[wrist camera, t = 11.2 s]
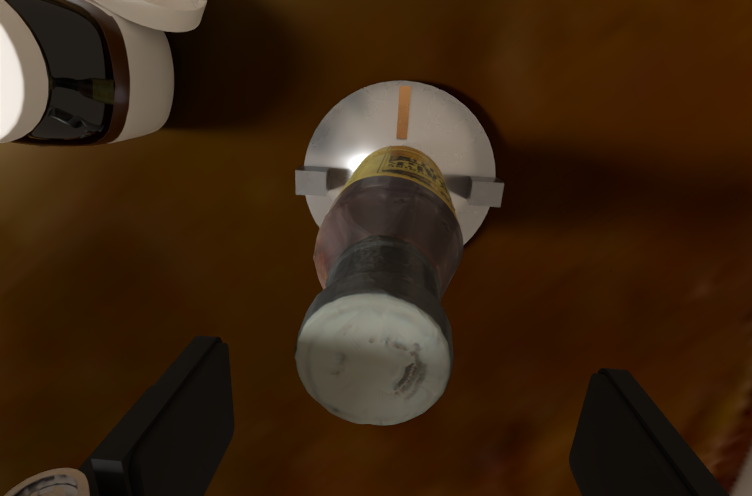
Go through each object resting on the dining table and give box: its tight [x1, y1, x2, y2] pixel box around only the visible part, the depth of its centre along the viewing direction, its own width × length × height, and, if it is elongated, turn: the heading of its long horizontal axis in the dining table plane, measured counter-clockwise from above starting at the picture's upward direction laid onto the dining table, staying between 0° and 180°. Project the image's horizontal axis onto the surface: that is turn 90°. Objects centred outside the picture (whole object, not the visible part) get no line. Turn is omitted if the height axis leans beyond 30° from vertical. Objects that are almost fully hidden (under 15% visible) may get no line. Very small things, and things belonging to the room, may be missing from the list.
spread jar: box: [0, 0, 207, 146], centre depth 22 cm, size 12×11×12 cm
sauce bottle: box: [294, 146, 463, 425], centre depth 20 cm, size 7×6×20 cm
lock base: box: [295, 80, 504, 245], centre depth 29 cm, size 13×13×3 cm
